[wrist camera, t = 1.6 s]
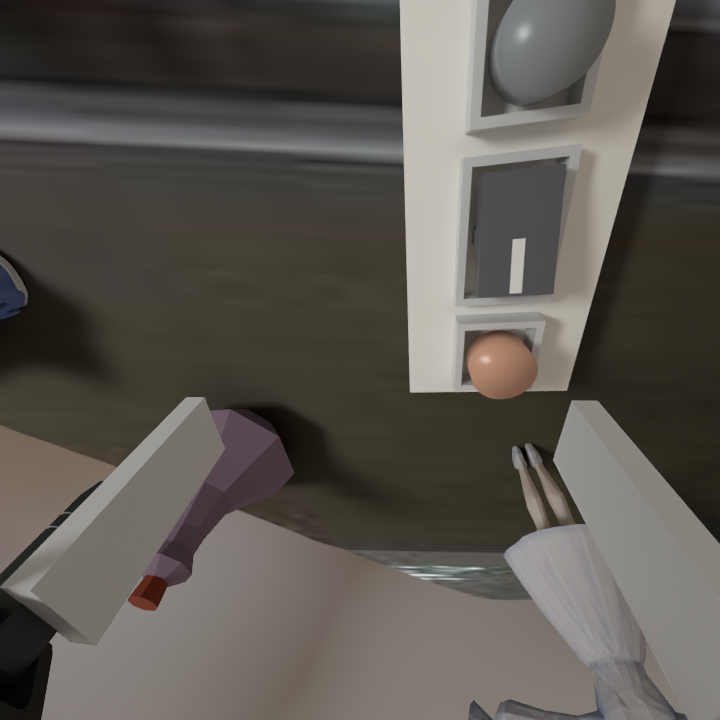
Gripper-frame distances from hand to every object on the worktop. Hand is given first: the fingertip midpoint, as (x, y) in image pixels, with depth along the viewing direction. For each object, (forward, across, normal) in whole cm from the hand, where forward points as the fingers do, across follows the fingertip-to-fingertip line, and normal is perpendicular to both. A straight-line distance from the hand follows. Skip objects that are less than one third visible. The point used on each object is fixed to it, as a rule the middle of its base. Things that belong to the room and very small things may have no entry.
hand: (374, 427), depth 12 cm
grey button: (+16, +9, +14) cm, 23 cm away
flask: (+21, -21, -21) cm, 36 cm away
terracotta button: (+17, +9, -6) cm, 20 cm away
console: (+21, +9, +4) cm, 23 cm away
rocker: (+16, +9, +4) cm, 19 cm away
